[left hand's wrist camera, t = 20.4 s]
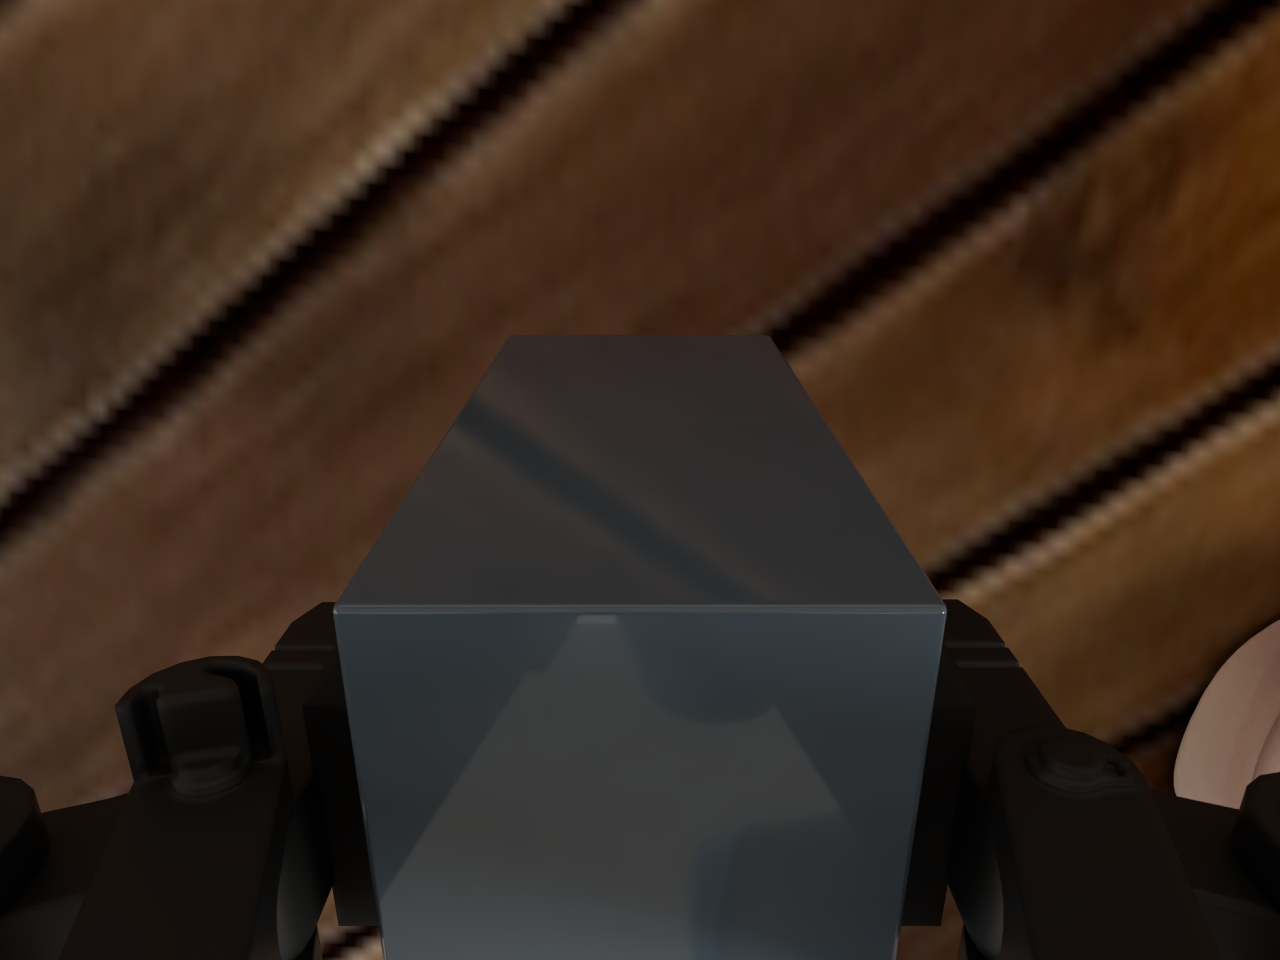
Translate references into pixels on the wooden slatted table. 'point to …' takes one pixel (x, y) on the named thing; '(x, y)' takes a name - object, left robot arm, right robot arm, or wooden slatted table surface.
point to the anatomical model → (1234, 726)
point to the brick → (639, 670)
